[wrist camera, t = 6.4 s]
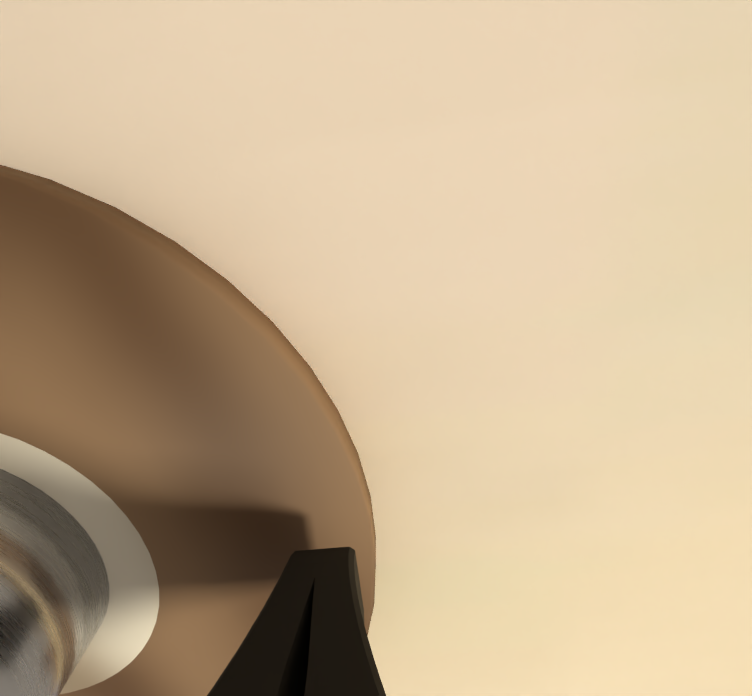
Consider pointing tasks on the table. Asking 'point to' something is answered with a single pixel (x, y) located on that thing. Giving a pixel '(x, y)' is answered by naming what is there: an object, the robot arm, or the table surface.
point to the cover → (44, 590)
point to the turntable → (164, 436)
